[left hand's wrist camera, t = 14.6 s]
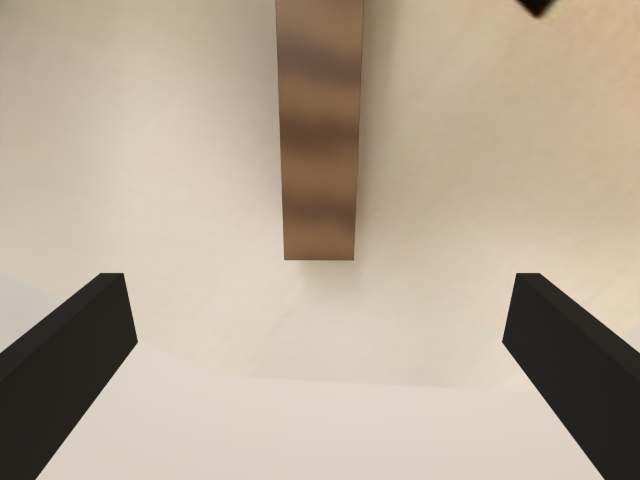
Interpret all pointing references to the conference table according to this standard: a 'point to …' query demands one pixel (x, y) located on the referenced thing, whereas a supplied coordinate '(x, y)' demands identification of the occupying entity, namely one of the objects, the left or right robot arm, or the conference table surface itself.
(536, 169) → the conference table surface
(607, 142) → the conference table surface
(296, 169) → the bar
